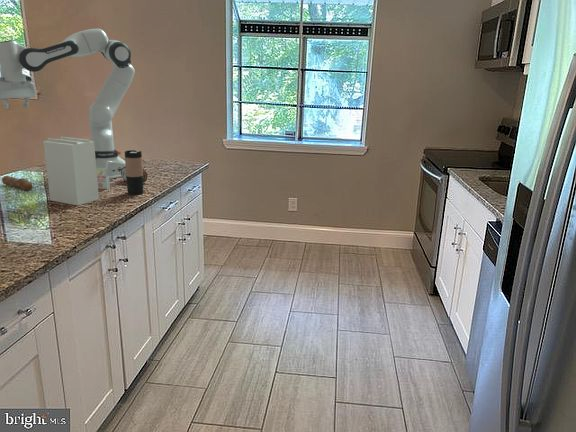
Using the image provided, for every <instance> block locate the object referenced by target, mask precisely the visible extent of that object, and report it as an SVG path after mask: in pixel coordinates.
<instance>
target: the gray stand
mask: <svg viewBox="0 0 576 432" xmlns="http://www.w3.org/2000/svg"><path fill="white" fill-rule="evenodd" d="M42 143H43V150H44V151H43V152H44V160H45V167H46V176H47V183H48V184H47V185H48V191H49V192H48V193H49V201H52V202H58V203H63V204H69V205H72V206H81V205H84V204H87V203H91V202H93V201H97V200H99V199H100V195H99V189H98V181H97V170H96V158H95V147H94V142H93V141H92V140H91V139H87V138H77V137H72V136H71V137H69V136H60V138H50V137H48V138H47V140H43V141H42Z"/></svg>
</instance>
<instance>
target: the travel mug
mask: <svg viewBox="0 0 576 432" xmlns="http://www.w3.org/2000/svg"><path fill="white" fill-rule="evenodd" d="M124 160H125V166H126V180H127V181H126V188H127V194H128V195H131V196H133V195H134V196H135V195H142V194H144V183H143V169H144V168H143V155H142V150H139V151H137V150H135V149H133V150H131V149H129V150H125V151H124Z"/></svg>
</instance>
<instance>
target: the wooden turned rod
mask: <svg viewBox="0 0 576 432" xmlns="http://www.w3.org/2000/svg"><path fill="white" fill-rule="evenodd" d="M1 183H2V184H3V185H5V186H9V187H12V188H15V189H16V188H17V189H19V190H22V191H25V192H26V191H27V192H28V191H31V190H32V189H33V184H32V183H31V182H30V181H28V179H26V178H22V177H21V178H17V177H13V176H9V175H4V176H3V177H2V178H1Z"/></svg>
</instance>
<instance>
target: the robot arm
mask: <svg viewBox="0 0 576 432" xmlns="http://www.w3.org/2000/svg"><path fill="white" fill-rule="evenodd" d="M131 52H132V51H131V49H130V48H129V46H128V45H127V44H126V43H124V42H122V41H120V40H115V39H110V38H109V37H108V35H107V33H106V32H105V31H104V30H103V29H102V28H90V29H85V30H80V31H77V32H74V33H73V34H70V35H69V36H67V37H66V38H65V39H64V40H62V41H60V42H59V43H56V44H53V45H51V46H46V47H43V48H36V47H35V48H34V47H27V46H25V45H22V44H20V43H18V42H17V41H16V40H3V41H0V100H1V103H2V104H3V106H4V109H6V110H7V109H8V110H9V109H11V104H9V103H8V99H23V100H24V103H22V107H23V108H29V103H30V101H31V100H30V99H31V98H36V96H37V89H36V86H35V83H34V78H33V77H32V76H31V75H28V74H25V73H23V70H24V69H25V71H28V72H39V71H41V70H42V69H44V68H45V66H46V65H48V64H50V63H52V62H55V61H58V60H61V59H64V58H80V57H87V56H90V55H92V54H95V53H101V54H102V55H103V57H104V58H105V59H106V60H108V61H109V62H111V63H112V68H111V69H112V70H111V71H110V73H109V75H108V76H107V77H106V78H107V79H106V80H105V81H104V83H103V85H102V87H101V88H100V90H99V93H98V95H97V97H96V99H95V101H94V102H93V103H92V104H91V105H90V106H89V108H88V116H89V117H88V119H89V129H90V141H93V142H94V147H95V158H96V168H102V169H107V170H108V174H109V180H111V179H116V178H122V176H121V169H122V168H123V167H126V166H125V159H123V158H122V157H120V156H119V155H121V153H122V152H121V151H120V150H117V149H115V142H114V132H113V131H114V130H113V121H112V120H113V118H114V116H115V114H116V112H117V111H118V109H119V106H120V104H121V102H122V100H123V99H124V97H125V95H126V93H127V91H128V90H129V88H130V86H131V84H132V82H133V80H134V77H135V73H136V70H135V68H134V66H133V65H132V64H131V63H132V62H131V58H132V53H131Z"/></svg>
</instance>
